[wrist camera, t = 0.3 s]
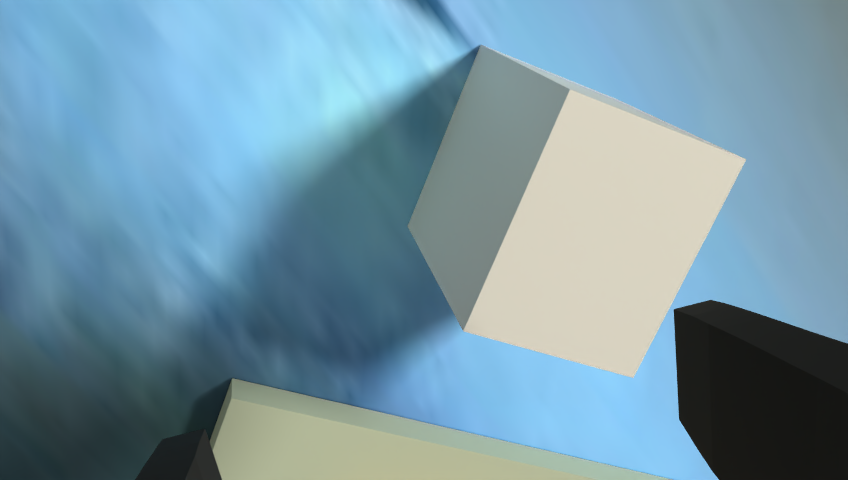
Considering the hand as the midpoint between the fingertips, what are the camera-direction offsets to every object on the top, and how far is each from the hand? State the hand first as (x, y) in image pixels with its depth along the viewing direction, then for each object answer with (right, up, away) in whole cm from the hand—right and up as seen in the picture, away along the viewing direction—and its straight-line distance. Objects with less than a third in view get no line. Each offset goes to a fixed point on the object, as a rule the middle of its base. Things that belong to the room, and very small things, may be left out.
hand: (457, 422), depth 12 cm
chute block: (+2, +5, +9) cm, 10 cm away
